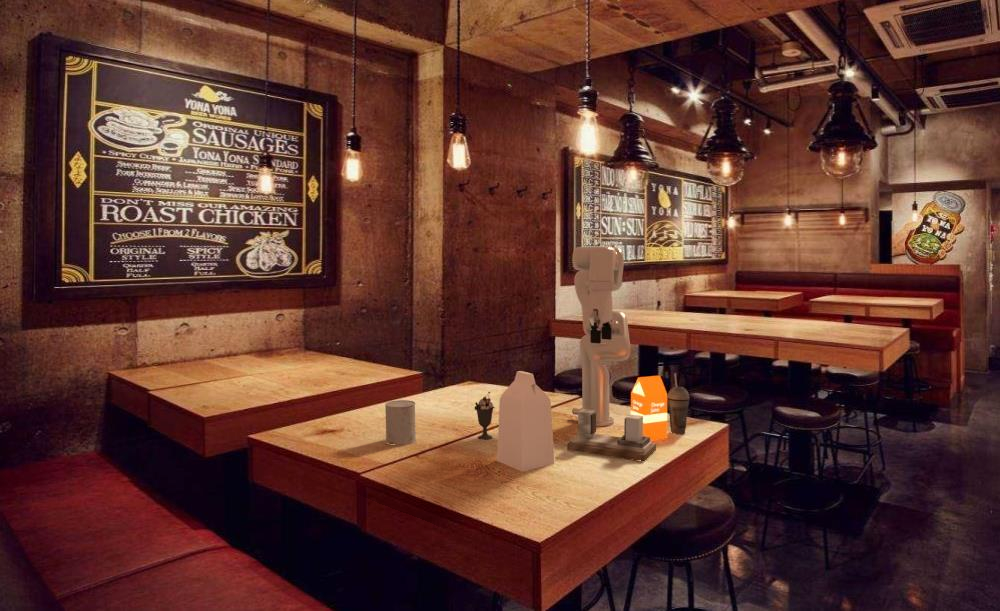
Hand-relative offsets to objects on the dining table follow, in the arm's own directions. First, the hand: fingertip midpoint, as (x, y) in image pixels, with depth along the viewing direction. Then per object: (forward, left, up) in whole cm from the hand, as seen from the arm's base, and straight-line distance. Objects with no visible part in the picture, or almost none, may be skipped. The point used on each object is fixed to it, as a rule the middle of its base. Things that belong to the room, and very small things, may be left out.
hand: (601, 341), depth 199 cm
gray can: (-57, -29, -33) cm, 72 cm away
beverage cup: (+19, +22, -32) cm, 44 cm away
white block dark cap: (+13, -7, -29) cm, 33 cm away
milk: (-12, -29, -33) cm, 45 cm away
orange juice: (+12, +12, -32) cm, 37 cm away
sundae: (-35, -13, -32) cm, 50 cm away
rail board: (+6, -7, -32) cm, 34 cm away
